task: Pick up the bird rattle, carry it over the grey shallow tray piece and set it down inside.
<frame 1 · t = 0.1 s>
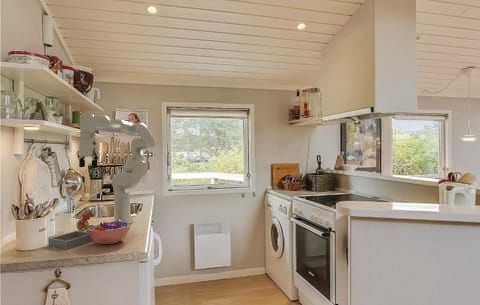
hand: (88, 167, 164), 37 cm above the countertop, tool pointing down, fingers open, 9 cm apart
bird rattle: (84, 232, 166), on the countertop
cell model: (110, 243, 147), on the countertop
grey shallow tray piece: (72, 242, 147), on the countertop
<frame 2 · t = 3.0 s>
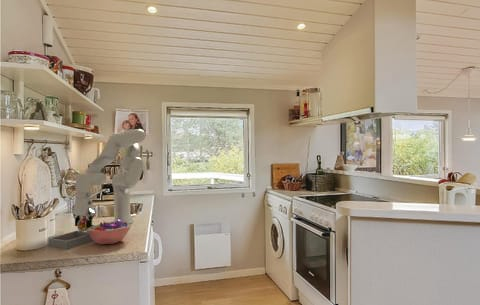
hand: (83, 226, 166), 3 cm above the countertop, tool pointing down, fingers closed on bird rattle, 8 cm apart
bird rattle: (84, 232, 166), on the countertop, touching gripper
everything else where it was.
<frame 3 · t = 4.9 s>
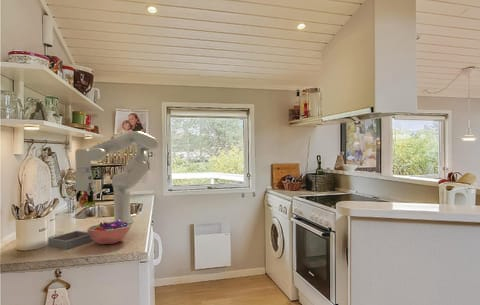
hand: (84, 201, 166), 17 cm above the countertop, tool pointing down, fingers closed on bird rattle, 8 cm apart
bird rattle: (86, 207, 167), point 14 cm above the countertop, touching gripper
everything else where it was.
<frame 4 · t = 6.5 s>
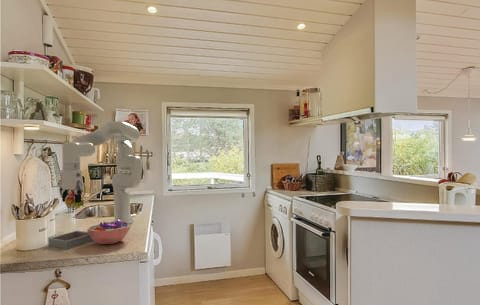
hand: (71, 201, 147), 20 cm above the countertop, tool pointing down, fingers closed on bird rattle, 8 cm apart
bird rattle: (73, 208, 148), point 17 cm above the countertop, touching gripper
everything else where it was.
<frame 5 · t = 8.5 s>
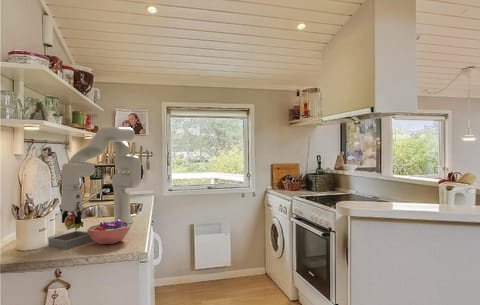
hand: (71, 222, 147), 10 cm above the countertop, tool pointing down, fingers closed on bird rattle, 8 cm apart
bird rattle: (73, 230, 147), point 6 cm above the countertop, touching gripper
everything else where it was.
when the fingers open (5 cm above the countertop, at t = 10.2 s): bird rattle drops 1 cm, resting on grey shallow tray piece.
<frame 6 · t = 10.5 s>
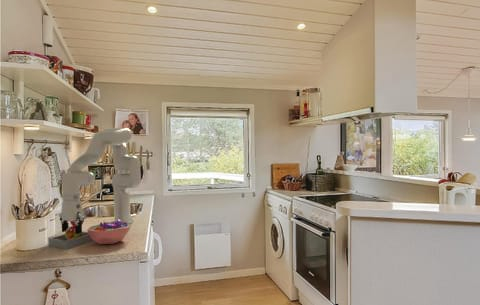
hand: (71, 232, 147), 5 cm above the countertop, tool pointing down, fingers open, 9 cm apart
bird rattle: (73, 242, 147), resting on grey shallow tray piece
everything else where it was.
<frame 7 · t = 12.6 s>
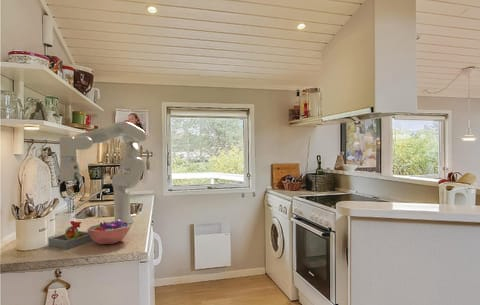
hand: (70, 192, 157), 24 cm above the countertop, tool pointing down, fingers open, 9 cm apart
nothing on the countertop moved.
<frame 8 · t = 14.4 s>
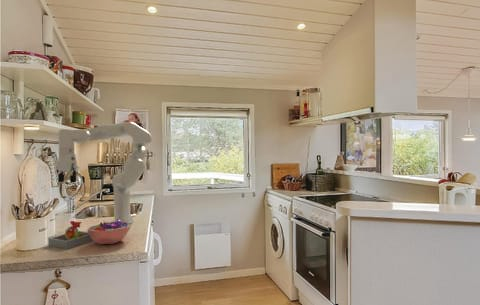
hand: (67, 182, 165), 28 cm above the countertop, tool pointing down, fingers open, 9 cm apart
nothing on the countertop moved.
at the end: bird rattle inside the target area on the grey shallow tray piece (0.7 cm from its centre), point 0.2 cm above the grey shallow tray piece's base; bird rattle tilted 1°; the gripper is holding nothing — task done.
